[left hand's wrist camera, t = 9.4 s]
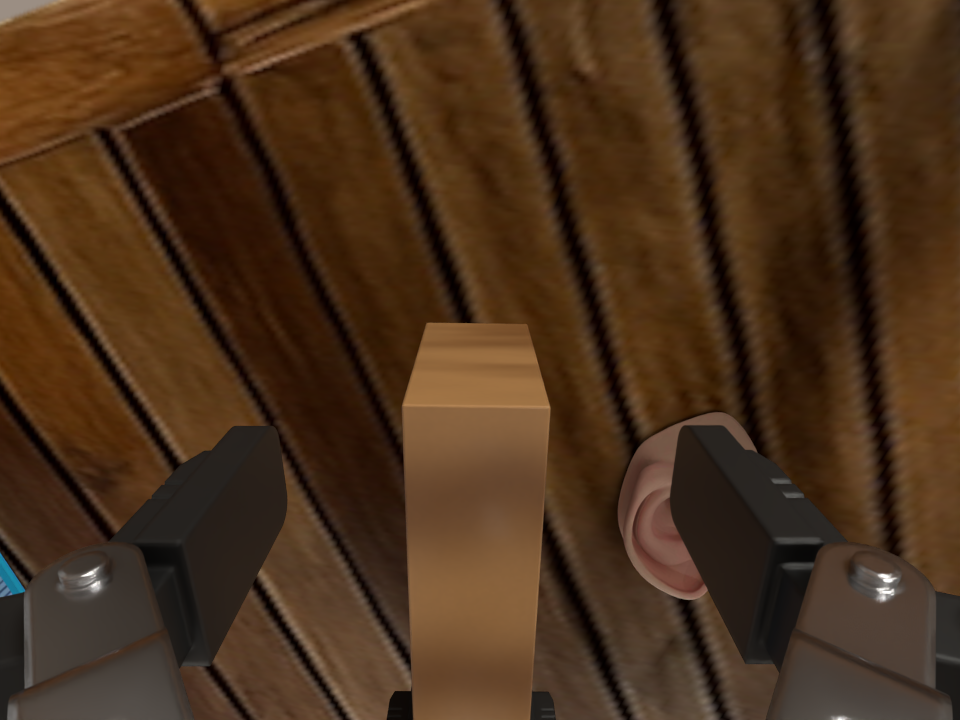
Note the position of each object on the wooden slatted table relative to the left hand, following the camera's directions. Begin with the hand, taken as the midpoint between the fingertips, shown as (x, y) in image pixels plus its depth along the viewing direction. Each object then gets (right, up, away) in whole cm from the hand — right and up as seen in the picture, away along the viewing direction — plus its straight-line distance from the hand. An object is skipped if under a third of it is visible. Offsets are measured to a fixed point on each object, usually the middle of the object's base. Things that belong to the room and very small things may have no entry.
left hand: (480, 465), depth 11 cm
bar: (0, -7, +21) cm, 22 cm away
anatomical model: (+16, -8, +33) cm, 37 cm away
